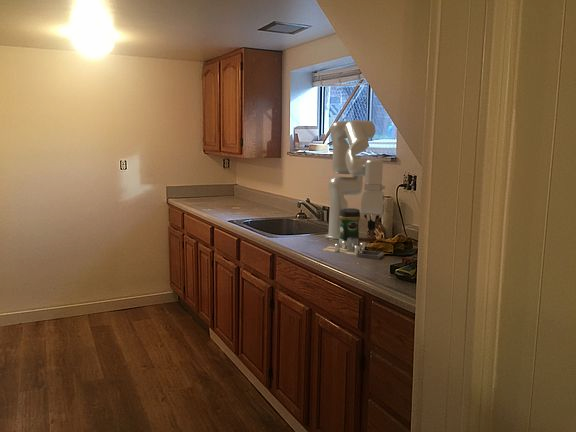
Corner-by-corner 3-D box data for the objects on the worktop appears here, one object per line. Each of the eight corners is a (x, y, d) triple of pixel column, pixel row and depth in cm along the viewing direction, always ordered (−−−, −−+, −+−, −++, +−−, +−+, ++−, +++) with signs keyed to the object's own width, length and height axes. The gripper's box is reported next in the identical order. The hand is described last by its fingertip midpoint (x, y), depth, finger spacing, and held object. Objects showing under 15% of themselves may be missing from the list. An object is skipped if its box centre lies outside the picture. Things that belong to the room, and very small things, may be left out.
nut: (345, 250, 237) (346, 236, 237) (356, 250, 238) (357, 237, 237) (347, 252, 233) (348, 238, 232) (358, 252, 234) (359, 238, 233)
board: (328, 247, 246) (328, 246, 246) (366, 251, 239) (366, 250, 239) (320, 251, 235) (320, 250, 235) (359, 256, 228) (359, 254, 228)
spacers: (341, 247, 243) (342, 240, 243) (365, 250, 239) (365, 242, 238) (334, 251, 233) (334, 244, 232) (358, 254, 228) (359, 246, 228)
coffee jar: (354, 245, 253) (355, 207, 250) (361, 248, 245) (363, 209, 243) (335, 246, 250) (337, 207, 247) (342, 249, 242) (344, 209, 240)
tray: (362, 254, 232) (363, 250, 231) (383, 256, 228) (383, 252, 228) (357, 258, 223) (357, 253, 223) (378, 260, 220) (378, 256, 220)
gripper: (392, 188, 229) (390, 230, 231) (358, 187, 235) (357, 227, 237) (388, 189, 222) (386, 232, 224) (354, 187, 228) (352, 229, 230)
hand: (371, 229), depth 230 cm, fingers closed
